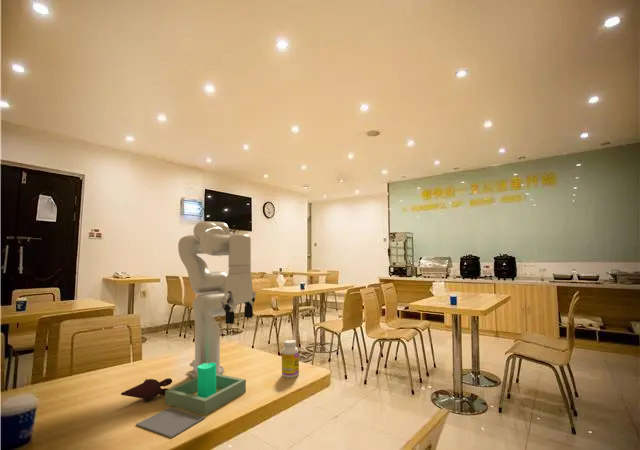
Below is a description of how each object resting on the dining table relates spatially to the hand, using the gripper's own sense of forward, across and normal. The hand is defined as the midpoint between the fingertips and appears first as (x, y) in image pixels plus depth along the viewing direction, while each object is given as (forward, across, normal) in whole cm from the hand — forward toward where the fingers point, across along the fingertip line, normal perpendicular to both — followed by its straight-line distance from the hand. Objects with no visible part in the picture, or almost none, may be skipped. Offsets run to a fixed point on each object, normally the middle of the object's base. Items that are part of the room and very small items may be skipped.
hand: (239, 320), depth 111 cm
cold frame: (+25, +5, -9) cm, 27 cm away
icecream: (+26, +14, -27) cm, 40 cm away
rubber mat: (+25, +22, -7) cm, 34 cm away
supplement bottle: (+25, -22, +7) cm, 34 cm away
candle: (+25, +5, -9) cm, 27 cm away
